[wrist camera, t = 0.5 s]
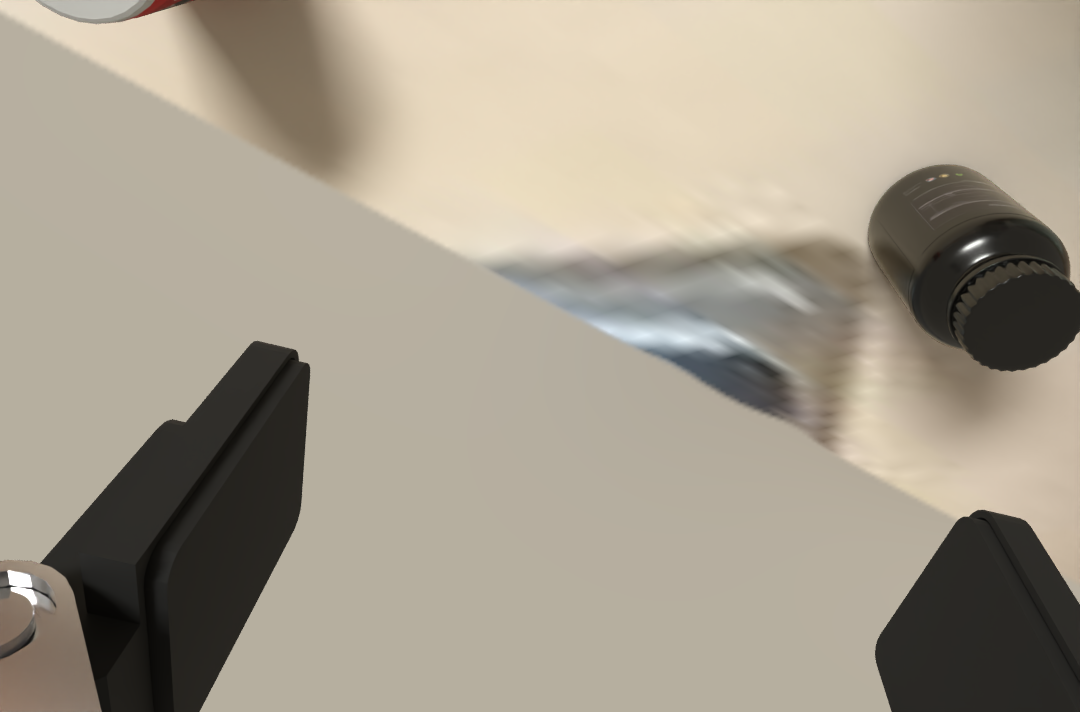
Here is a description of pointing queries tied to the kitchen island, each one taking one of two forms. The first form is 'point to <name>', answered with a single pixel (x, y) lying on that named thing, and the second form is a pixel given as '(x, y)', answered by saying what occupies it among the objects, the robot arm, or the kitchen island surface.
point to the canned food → (107, 9)
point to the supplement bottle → (976, 267)
